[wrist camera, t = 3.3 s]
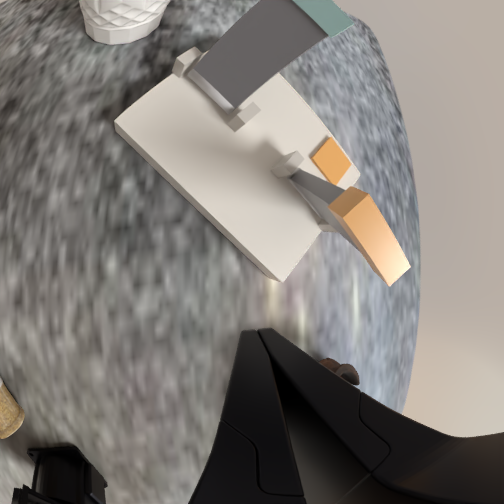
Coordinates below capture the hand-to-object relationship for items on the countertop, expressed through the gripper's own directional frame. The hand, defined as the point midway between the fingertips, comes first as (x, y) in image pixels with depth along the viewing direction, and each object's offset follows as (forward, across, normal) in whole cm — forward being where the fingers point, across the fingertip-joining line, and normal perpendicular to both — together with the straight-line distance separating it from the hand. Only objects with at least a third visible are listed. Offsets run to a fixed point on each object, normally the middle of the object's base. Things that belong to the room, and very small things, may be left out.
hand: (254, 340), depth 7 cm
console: (+15, -3, -5) cm, 16 cm away
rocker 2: (+12, -7, -2) cm, 14 cm away
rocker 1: (+13, 0, -9) cm, 16 cm away
